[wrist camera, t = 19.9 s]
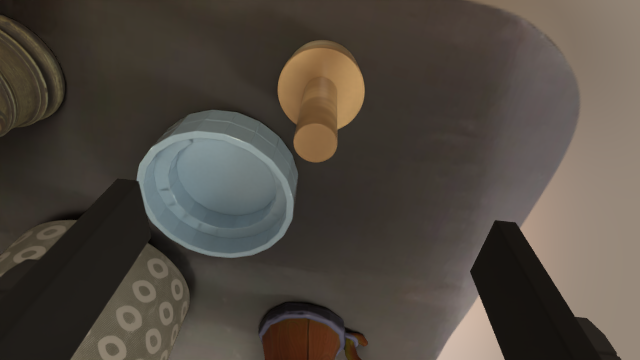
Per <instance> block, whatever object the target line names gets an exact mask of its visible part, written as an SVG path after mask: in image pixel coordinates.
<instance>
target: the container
mask: <svg viewBox="0 0 640 360" xmlns="http://www.w3.org/2000/svg"><path fill="white" fill-rule="evenodd" d="M64 95H65V81H64V77H63V73H62V70H61V68H60V65H59V63H58V61H57V59H56V58H55V56H54V55H53V53H52V52H51V50H50V49H49V48H48V47H47V45H46V44H45V43H44V42H43V41H42V40H41V39H40V38H39V37H38V36H37V35H36V34H34V33H33V32H32V31H31V30H29V29H28V28H26V27H25V26H24V25H22V24H20V23H19V22H17V21H15V20H13V19H11V18H8V17H6V16H3V15H0V137H1V136H3V135H5V134H6V133H7V132H8V131H9V130H11V129H12V128H14V127H24V126H28V125H31V124H33V123H35V122H36V121H38V120H42V119H45V118H47V117H49V116H50V115H52V114H53V113H54V112H55V111H56V110H57V109H58V108H59V106H60V105H61V103H62V101H63V99H64Z"/></svg>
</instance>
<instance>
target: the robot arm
mask: <svg viewBox="0 0 640 360" xmlns="http://www.w3.org/2000/svg"><path fill="white" fill-rule="evenodd" d="M150 238H151V233H150V228H149V224H148V219H147V215H146V211H145V206H144V202H143V197H142V193H141V188H140V184H139V181H135V180H126V179H117V180H116V181H115V182H114V183H113V184H112V185H111V186H110V187H109V188H108V189H107V190H106V191H105V192H104V193H103V194H102V195H101V196H100V197H99V198H98V199H97V200H96V202H95V203H94V204H93V205H92V206H91V207H90V208H89V209H88V210H87V211H86V212H85V213H84V214H83V215H82V216H81V217H80V218H79V219H78V220H77V221H76V222H75V223H74V224H73V225H72V226H71V227H70V228H69V229H68V230H67V231H66V232H65V233H64V234H63V235H62V237H61V238H60V239H59V240H58V241H57V242H56V243H55V244H54V245H53V246H52V247H51V248H50V249H49V250H48V251H47V252H46V253H45V254H44V255H43V256H42V257H41V258H40V259H39V260H35V259H26V260H24V261H22V262H21V263H19V264H17V265H16V266H14V267H12V268H11V269H9V270H7V271H6V272H5V273H4V274H3V275H2V276H1V277H0V360H71V358H72V356H73V355H74V353H75V352H76V350H77V349H78V347H79V346H80V344H81V343H82V341H83V340H84V338H85V337H86V335H87V334H88V332H89V331H90V329H91V328H92V326H93V325H94V323H95V322H96V320H97V319H98V317H99V316H100V314H101V313H102V311H103V309H104V308H105V306H106V305H107V303H108V302H109V300H110V299H111V297H112V296H113V294H114V293H115V291H116V290H117V288H118V287H119V285H120V284H121V282H122V281H123V279H124V278H125V276H126V275H127V273H128V272H129V270H130V269H131V267H132V266H133V264H134V263H135V261H136V259H137V258H138V256H139V255H140V253H141V252H142V250H143V249H144V247H145V246H146V244H147V243H148V241H149V240H150ZM470 273H471V275H472V278H473V280H474V283H475V285H476V288H477V290H478V293H479V295H480V298H481V300H482V303H483V305H484V308H485V310H486V313H487V316H488V318H489V321H490V323H491V326H492V328H493V331H494V333H495V336H496V338H497V341H498V344H499V346H500V348H501V351H502V354H503V356H504V359H505V360H621V359H620V357H618V356H617V353H616V351H615V350H614V348H613V347H612V345H611V344H610V342H609V341H608V339H607V338H606V336H605V335H604V334H603V333H602V332H601V331H600V330H599V329H598V328H597V327H596V326H595V325H594V324H593V323H592V322H590V321H589V320H588V319H587V318H580V317H574V314H573V313H572V311H571V310H570V308H569V307H568V305H567V303H566V302H565V300H564V299H563V297H562V296H561V294H560V292H559V291H558V289H557V287H556V286H555V284H554V283H553V281H552V279H551V278H550V276H549V275H548V273H547V272H546V270H545V269H544V267H543V265H542V264H541V262H540V260H539V259H538V257H537V256H536V254H535V252H534V251H533V249H532V248H531V246H530V245H529V243H528V241H527V240H526V238H525V237H524V235H523V233H522V232H521V230H520V229H519V227H518V226H517V224H516V223H515V222H506V221H497V220H495V222H494V224H493V226H492V228H491V230H490V232H489V234H488V236H487V238H486V240H485V242H484V244H483V246H482V248H481V250H480V252H479V254H478V256H477V258H476V261H475V263H474V265H473V267H472V269H471V271H470Z"/></svg>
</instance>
